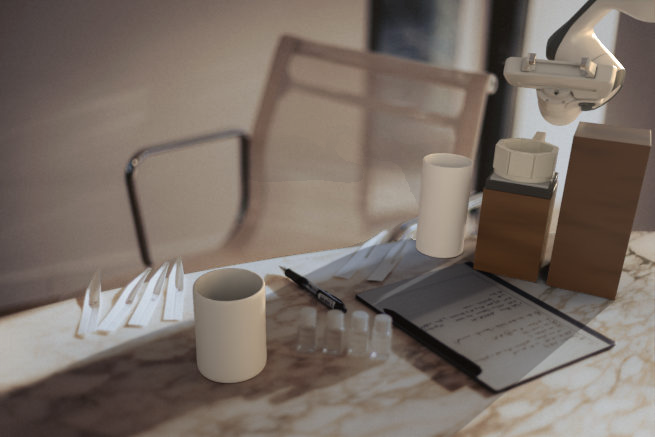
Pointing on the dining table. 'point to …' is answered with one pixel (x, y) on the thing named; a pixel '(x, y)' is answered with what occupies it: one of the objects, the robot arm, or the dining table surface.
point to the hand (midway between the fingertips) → (557, 59)
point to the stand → (571, 216)
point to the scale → (522, 186)
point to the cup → (443, 204)
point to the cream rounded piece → (525, 159)
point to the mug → (230, 324)
